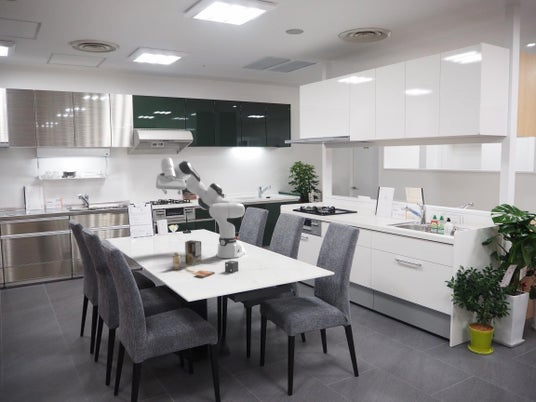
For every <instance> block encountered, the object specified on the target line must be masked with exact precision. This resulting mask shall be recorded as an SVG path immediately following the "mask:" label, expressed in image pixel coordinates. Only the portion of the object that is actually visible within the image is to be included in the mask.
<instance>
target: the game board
mask: <svg viewBox="0 0 536 402" xmlns="http://www.w3.org/2000/svg"><path fill="white" fill-rule="evenodd" d="M166 271H171V272H176V273H177V272H179V273H182V274H183V273H184V274H189V275H194V276H192V277H194V278H200V279H205V278H207V277H210V276H212V275H215V271H211V270H202V269H201V270H200V269H197V268H196V269H195V268H188V267H183V266H182V267H181V266H180V269H179V270H174V269H173V267H171V268H168V269H166Z"/></svg>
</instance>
